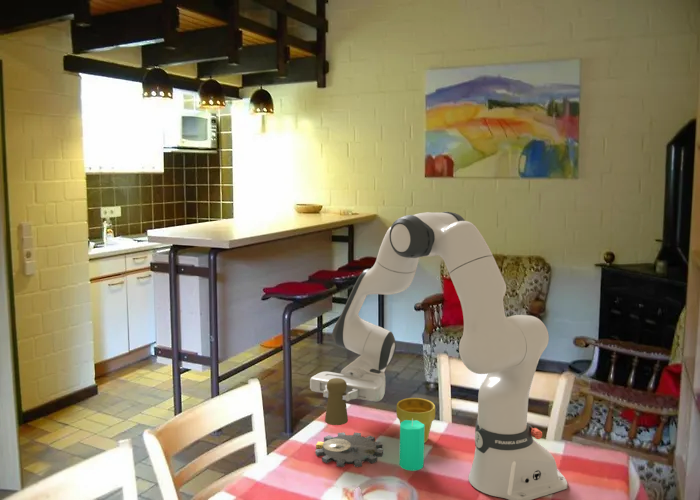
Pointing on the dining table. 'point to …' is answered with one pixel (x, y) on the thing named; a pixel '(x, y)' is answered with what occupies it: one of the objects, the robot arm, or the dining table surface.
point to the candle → (411, 445)
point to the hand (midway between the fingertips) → (335, 396)
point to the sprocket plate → (349, 449)
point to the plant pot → (417, 412)
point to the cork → (336, 402)
